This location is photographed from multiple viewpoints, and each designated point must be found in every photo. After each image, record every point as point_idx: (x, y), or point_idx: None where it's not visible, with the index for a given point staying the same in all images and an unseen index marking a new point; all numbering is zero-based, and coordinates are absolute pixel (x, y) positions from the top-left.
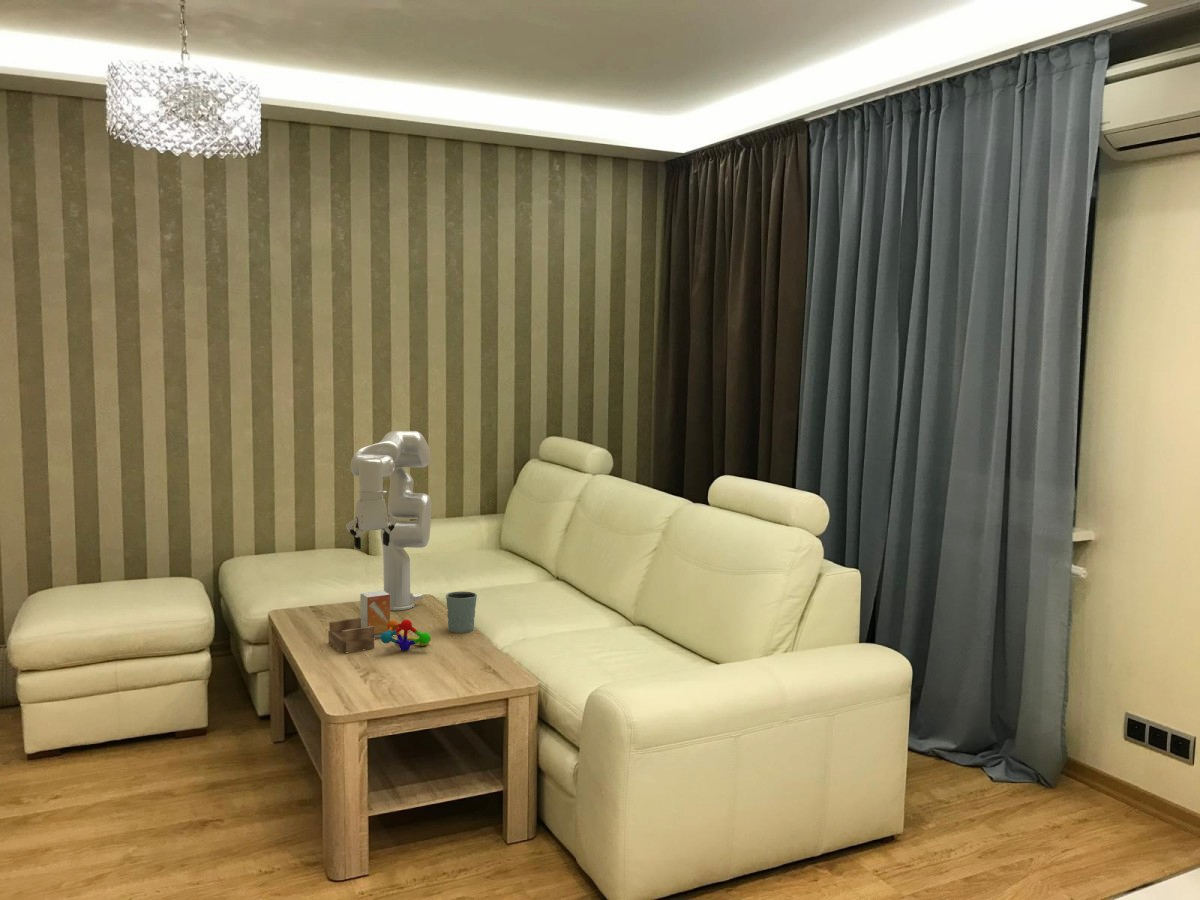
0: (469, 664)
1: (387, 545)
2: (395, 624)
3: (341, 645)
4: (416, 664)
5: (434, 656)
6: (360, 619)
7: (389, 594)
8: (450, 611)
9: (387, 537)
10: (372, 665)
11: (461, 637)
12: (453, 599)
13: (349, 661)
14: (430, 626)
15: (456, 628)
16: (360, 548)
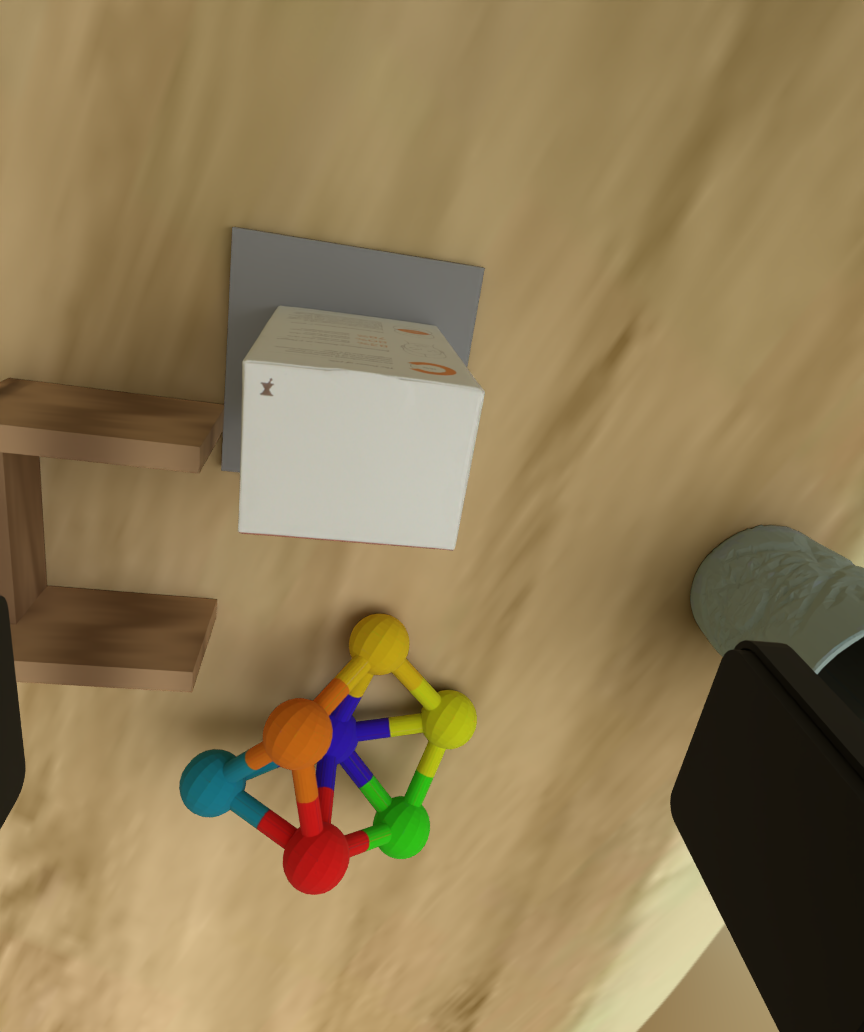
0: (440, 960)
1: (686, 814)
2: (295, 775)
3: None
4: (273, 883)
5: None
6: (197, 470)
7: (450, 548)
8: None
9: (784, 1009)
10: (100, 815)
11: (657, 691)
12: None
13: None
14: (689, 439)
15: (705, 635)
16: (14, 785)
